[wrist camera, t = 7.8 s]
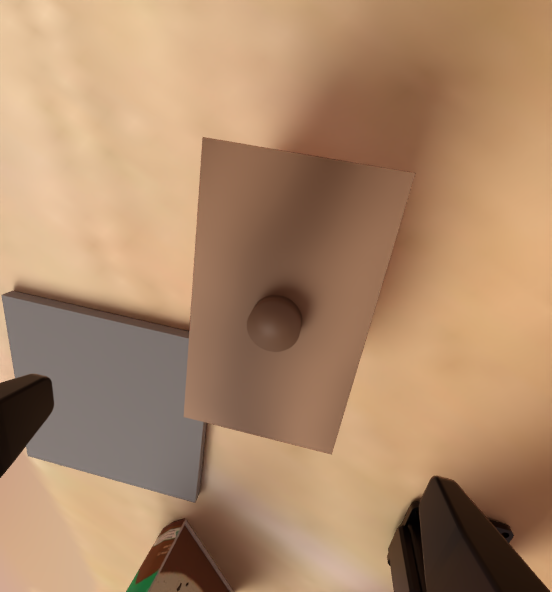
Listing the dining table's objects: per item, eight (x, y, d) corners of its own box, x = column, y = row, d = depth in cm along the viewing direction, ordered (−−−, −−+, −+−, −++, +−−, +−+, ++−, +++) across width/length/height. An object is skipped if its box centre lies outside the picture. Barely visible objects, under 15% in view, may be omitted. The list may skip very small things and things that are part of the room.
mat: (215, 337, 21) (211, 343, 20) (199, 493, 26) (195, 502, 25) (12, 290, 22) (1, 295, 21) (36, 448, 27) (27, 455, 27)
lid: (407, 172, 12) (421, 173, 10) (332, 431, 16) (331, 469, 14) (216, 140, 12) (193, 134, 10) (195, 398, 17) (176, 429, 15)
